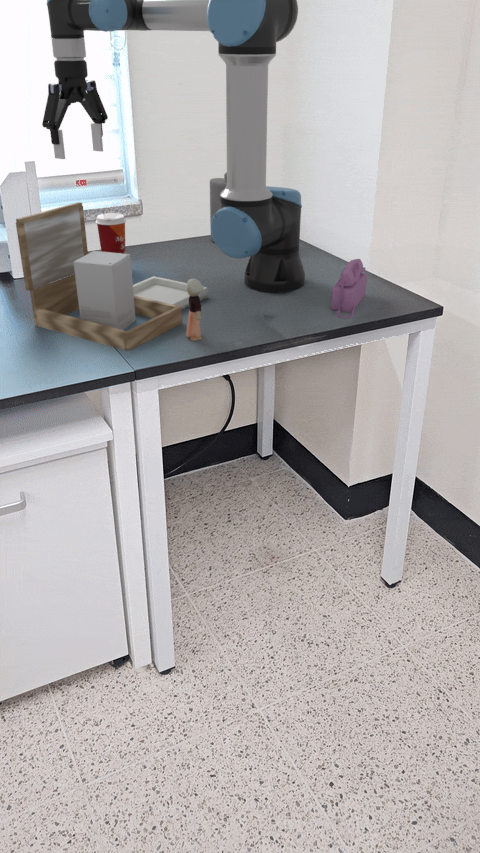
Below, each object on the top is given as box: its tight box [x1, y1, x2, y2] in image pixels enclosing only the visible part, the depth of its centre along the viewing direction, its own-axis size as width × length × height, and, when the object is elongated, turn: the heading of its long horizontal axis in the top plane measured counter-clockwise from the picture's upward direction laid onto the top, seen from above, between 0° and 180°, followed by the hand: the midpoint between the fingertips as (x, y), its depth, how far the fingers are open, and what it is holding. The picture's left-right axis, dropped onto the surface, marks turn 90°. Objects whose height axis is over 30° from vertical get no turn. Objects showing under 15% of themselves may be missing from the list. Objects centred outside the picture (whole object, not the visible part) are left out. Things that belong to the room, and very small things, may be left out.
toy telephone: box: [330, 258, 368, 319], centre depth 164 cm, size 18×6×10 cm, turn 158°
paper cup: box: [95, 212, 127, 254], centre depth 186 cm, size 8×8×14 cm
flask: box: [209, 171, 227, 243], centre depth 207 cm, size 15×6×20 cm, turn 52°
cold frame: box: [15, 201, 183, 352], centre depth 150 cm, size 27×18×23 cm
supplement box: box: [73, 250, 137, 330], centre depth 152 cm, size 9×9×15 cm
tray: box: [133, 275, 209, 311], centre depth 168 cm, size 16×16×2 cm
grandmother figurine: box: [185, 278, 204, 341], centre depth 146 cm, size 8×4×13 cm, turn 24°
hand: (79, 154), depth 180 cm, fingers open, 13 cm apart
